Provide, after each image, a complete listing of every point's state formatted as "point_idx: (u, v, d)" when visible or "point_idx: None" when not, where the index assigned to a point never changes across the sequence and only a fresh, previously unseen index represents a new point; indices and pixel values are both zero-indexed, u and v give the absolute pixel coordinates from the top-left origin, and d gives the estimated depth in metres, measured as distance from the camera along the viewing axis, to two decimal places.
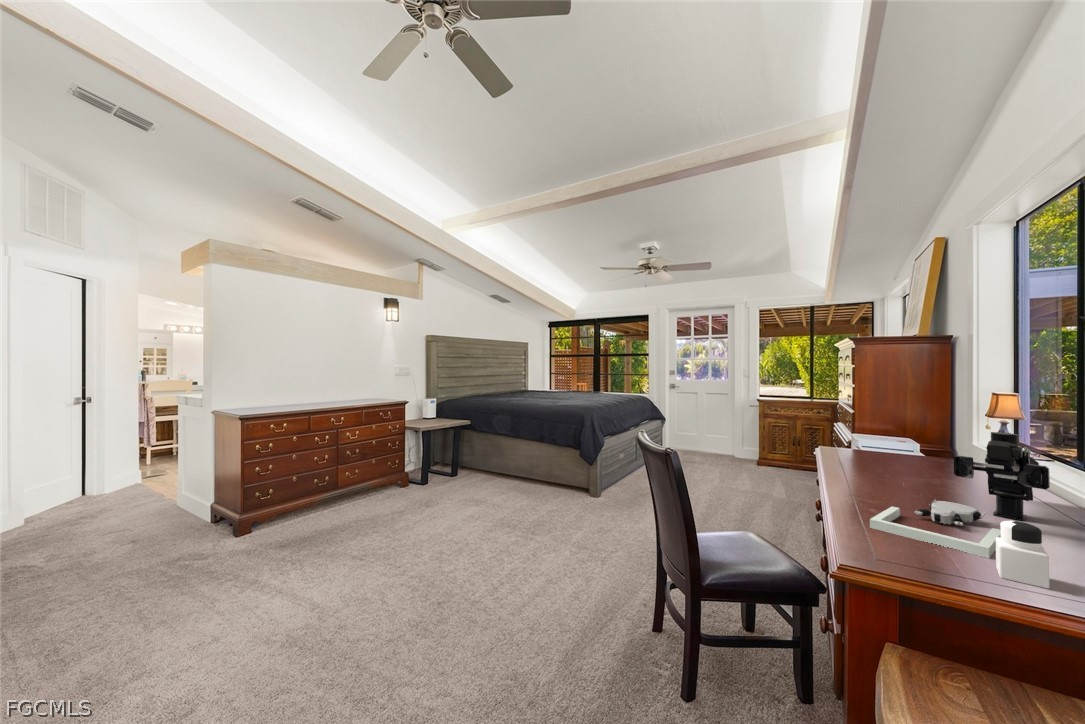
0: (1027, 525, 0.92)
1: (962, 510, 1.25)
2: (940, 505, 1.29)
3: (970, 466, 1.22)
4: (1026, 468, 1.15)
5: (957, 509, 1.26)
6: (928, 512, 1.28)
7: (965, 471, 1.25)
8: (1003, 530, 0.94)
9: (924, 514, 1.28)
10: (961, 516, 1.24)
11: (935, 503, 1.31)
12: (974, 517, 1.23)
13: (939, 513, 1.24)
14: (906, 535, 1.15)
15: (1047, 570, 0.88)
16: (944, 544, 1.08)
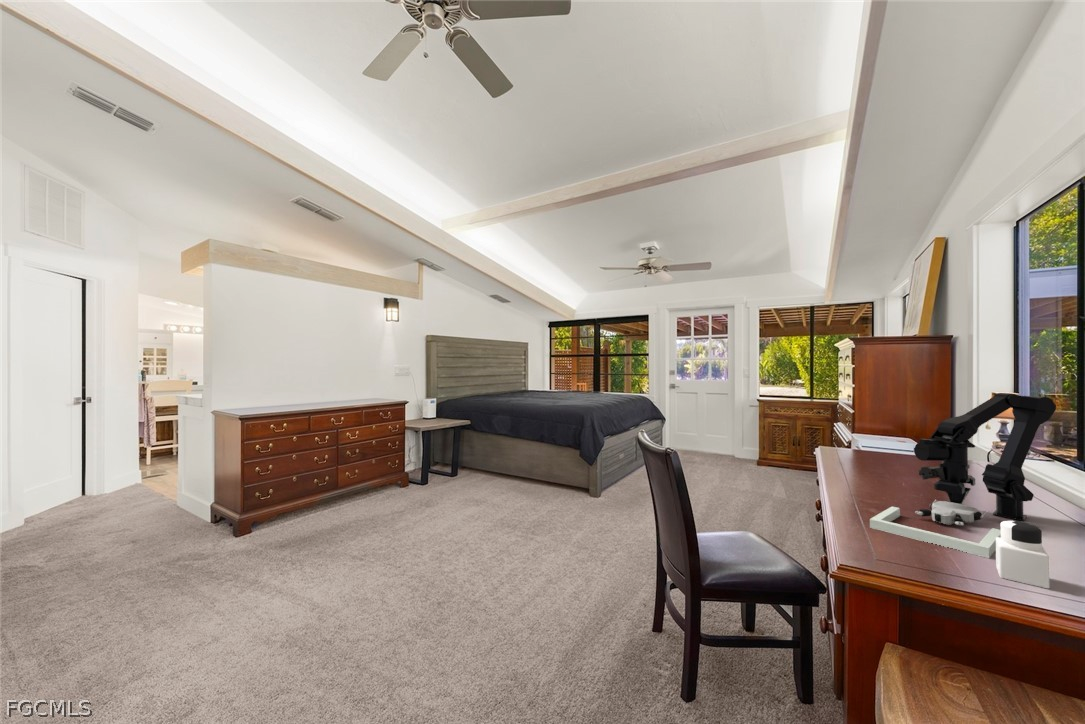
0: (1027, 525, 0.92)
1: (962, 510, 1.25)
2: (941, 505, 1.29)
3: None
4: None
5: (958, 509, 1.25)
6: (928, 512, 1.27)
7: None
8: (1003, 530, 0.94)
9: (924, 514, 1.27)
10: (962, 516, 1.23)
11: (936, 503, 1.31)
12: (975, 517, 1.22)
13: (939, 513, 1.24)
14: (906, 535, 1.15)
15: (1047, 570, 0.88)
16: (944, 544, 1.08)
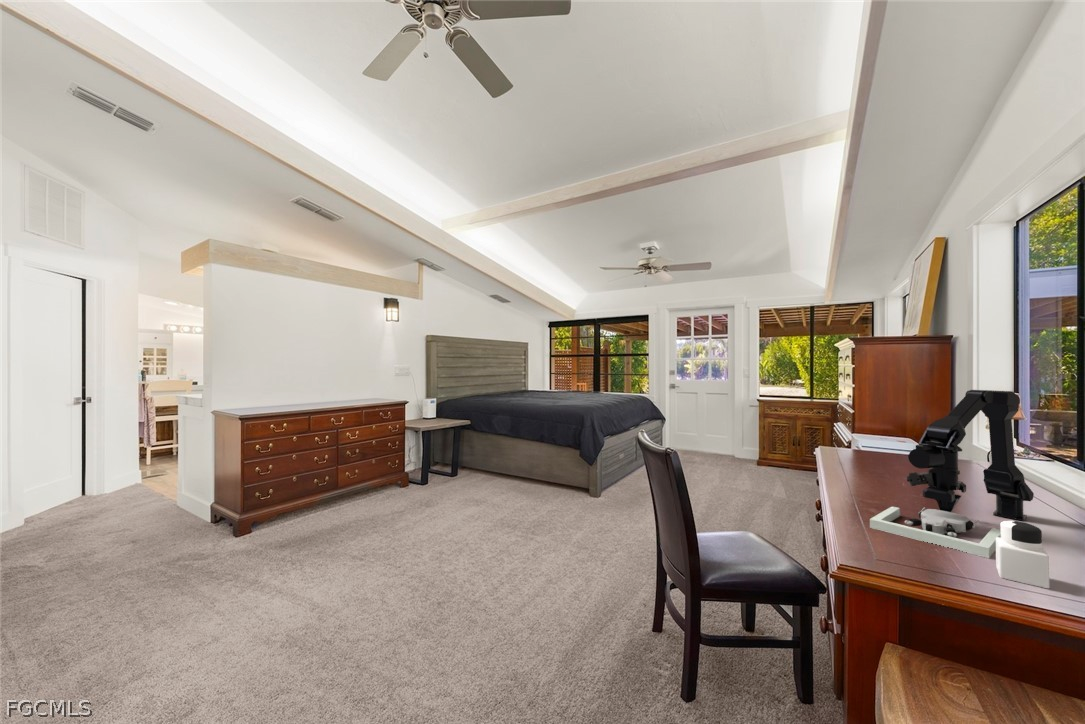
0: (1027, 525, 0.92)
1: (954, 519, 1.17)
2: (930, 514, 1.21)
3: None
4: None
5: (949, 518, 1.18)
6: (919, 522, 1.19)
7: None
8: (1003, 530, 0.94)
9: (914, 524, 1.19)
10: (953, 526, 1.16)
11: (925, 511, 1.23)
12: (967, 527, 1.15)
13: (931, 523, 1.16)
14: (906, 535, 1.15)
15: (1047, 570, 0.88)
16: (944, 544, 1.08)
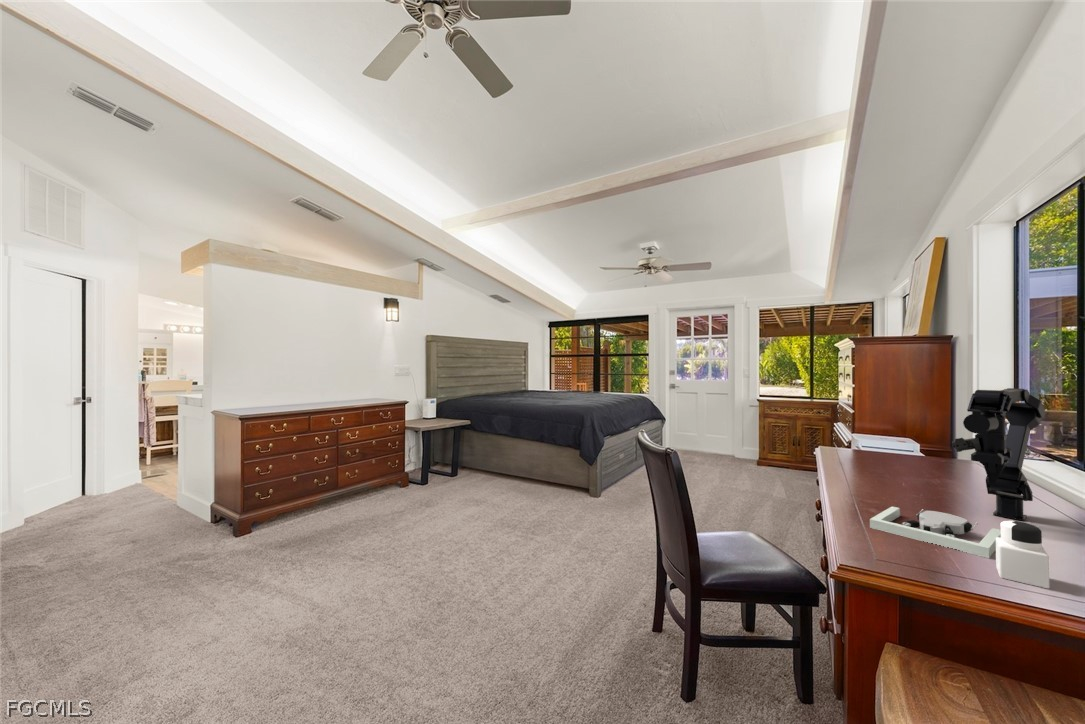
0: (1027, 525, 0.92)
1: (952, 521, 1.16)
2: (929, 515, 1.20)
3: None
4: None
5: (947, 520, 1.17)
6: (917, 523, 1.18)
7: None
8: (1003, 530, 0.94)
9: (912, 526, 1.18)
10: (951, 528, 1.15)
11: (923, 513, 1.22)
12: (965, 529, 1.14)
13: (929, 525, 1.15)
14: (906, 535, 1.15)
15: (1047, 570, 0.88)
16: (944, 544, 1.08)
